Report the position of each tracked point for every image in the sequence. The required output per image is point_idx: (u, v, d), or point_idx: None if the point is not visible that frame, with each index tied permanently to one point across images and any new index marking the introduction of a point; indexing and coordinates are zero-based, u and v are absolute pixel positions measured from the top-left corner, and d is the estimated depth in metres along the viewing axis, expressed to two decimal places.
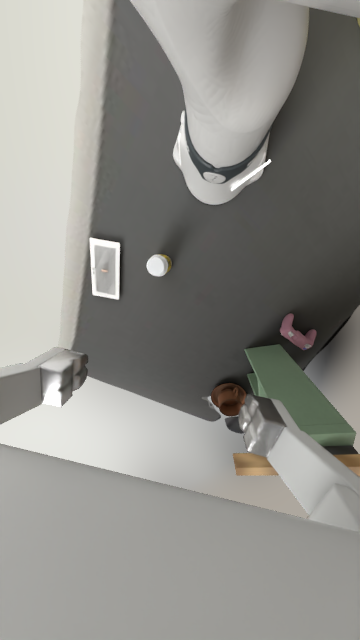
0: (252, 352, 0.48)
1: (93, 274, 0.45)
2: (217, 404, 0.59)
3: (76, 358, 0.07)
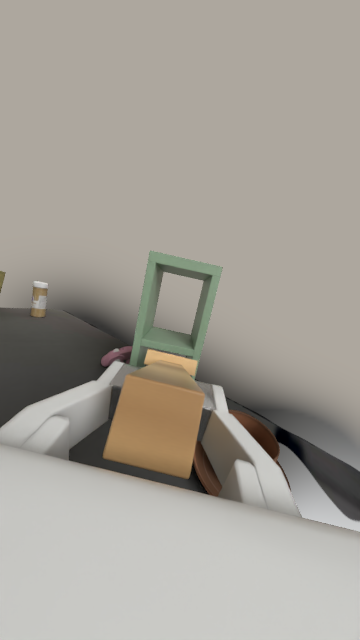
0: None
1: None
2: None
3: None
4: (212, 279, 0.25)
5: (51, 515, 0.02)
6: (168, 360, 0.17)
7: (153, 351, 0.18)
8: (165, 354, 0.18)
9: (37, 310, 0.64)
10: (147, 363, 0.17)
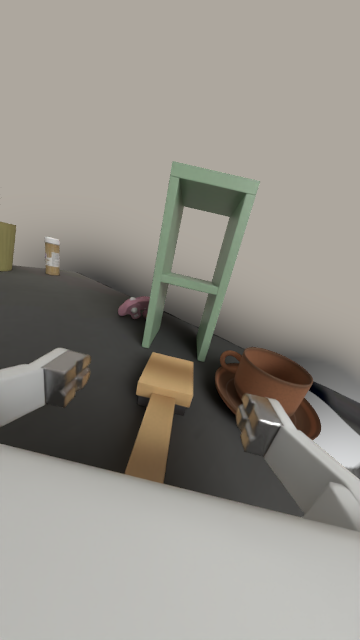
0: None
1: None
2: (310, 434, 0.17)
3: (79, 358, 0.07)
4: (246, 198, 0.21)
5: (51, 515, 0.02)
6: (161, 393, 0.16)
7: (144, 384, 0.16)
8: (157, 387, 0.16)
9: (51, 267, 0.63)
10: (139, 394, 0.16)
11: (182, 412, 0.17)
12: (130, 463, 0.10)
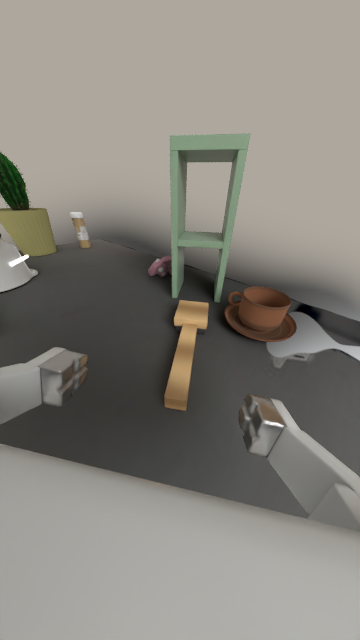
0: None
1: None
2: (285, 337, 0.26)
3: (76, 358, 0.07)
4: (238, 155, 0.23)
5: (51, 515, 0.02)
6: (188, 322, 0.27)
7: (177, 318, 0.27)
8: (185, 319, 0.27)
9: (84, 241, 0.72)
10: (176, 325, 0.28)
11: (202, 332, 0.28)
12: (177, 350, 0.23)
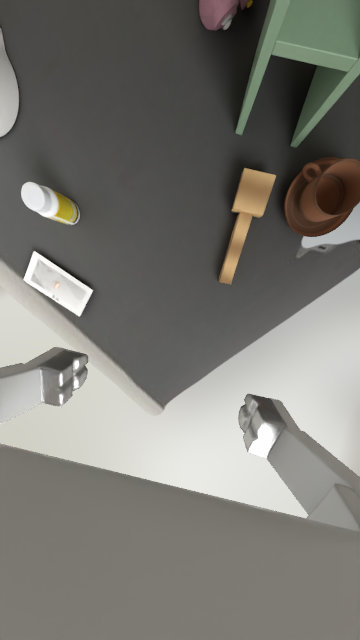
0: (241, 109, 0.26)
1: (58, 300, 0.40)
2: (325, 230, 0.31)
3: (76, 357, 0.07)
4: None
5: (51, 515, 0.02)
6: (245, 212, 0.30)
7: (236, 209, 0.30)
8: (243, 210, 0.30)
9: None
10: (233, 211, 0.31)
11: (255, 217, 0.32)
12: (230, 247, 0.32)
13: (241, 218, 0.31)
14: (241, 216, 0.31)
